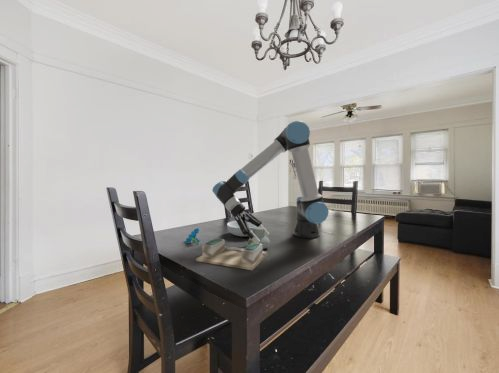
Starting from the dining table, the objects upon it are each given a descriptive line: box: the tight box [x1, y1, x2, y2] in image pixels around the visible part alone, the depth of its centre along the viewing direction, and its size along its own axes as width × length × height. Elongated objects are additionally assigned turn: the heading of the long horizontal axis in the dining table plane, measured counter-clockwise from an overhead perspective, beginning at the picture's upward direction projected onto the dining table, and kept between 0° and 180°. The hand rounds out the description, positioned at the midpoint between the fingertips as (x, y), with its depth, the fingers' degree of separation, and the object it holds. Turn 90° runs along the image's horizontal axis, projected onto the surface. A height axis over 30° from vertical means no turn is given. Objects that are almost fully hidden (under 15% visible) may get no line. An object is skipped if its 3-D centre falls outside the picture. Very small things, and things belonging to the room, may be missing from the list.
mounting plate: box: [195, 237, 268, 271], centre depth 102 cm, size 26×18×6 cm
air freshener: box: [247, 226, 271, 250], centre depth 115 cm, size 11×8×10 cm
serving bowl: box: [226, 220, 257, 238], centre depth 140 cm, size 21×21×7 cm
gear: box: [184, 227, 200, 245], centre depth 126 cm, size 11×6×10 cm
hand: (263, 239), depth 115 cm, fingers open, 13 cm apart
